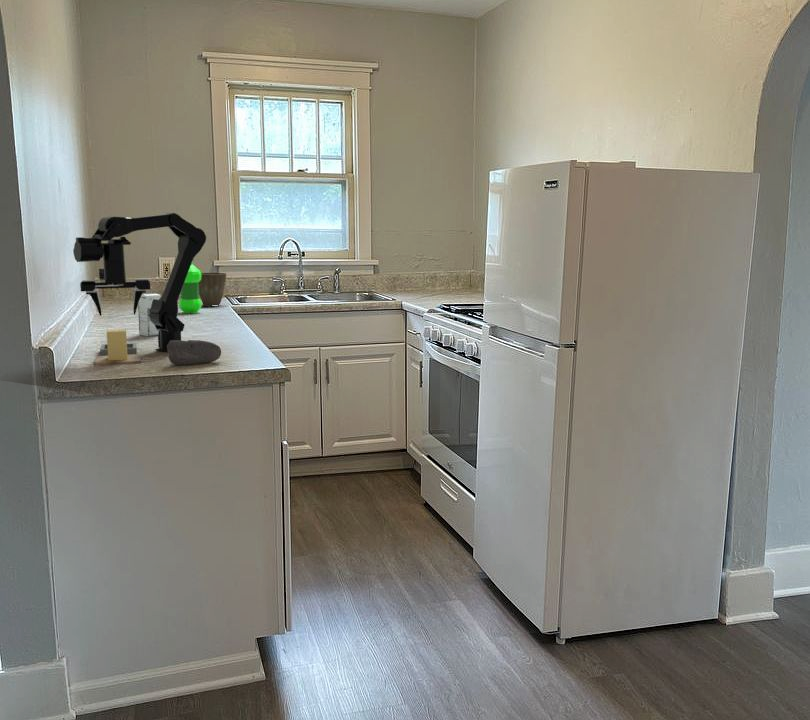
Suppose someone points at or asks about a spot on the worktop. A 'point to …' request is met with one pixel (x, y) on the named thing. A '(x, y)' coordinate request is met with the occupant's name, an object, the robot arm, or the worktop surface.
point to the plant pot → (211, 288)
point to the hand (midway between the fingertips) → (117, 314)
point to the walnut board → (104, 360)
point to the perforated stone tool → (192, 352)
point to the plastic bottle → (191, 291)
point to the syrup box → (146, 315)
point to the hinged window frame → (130, 349)
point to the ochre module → (117, 344)
